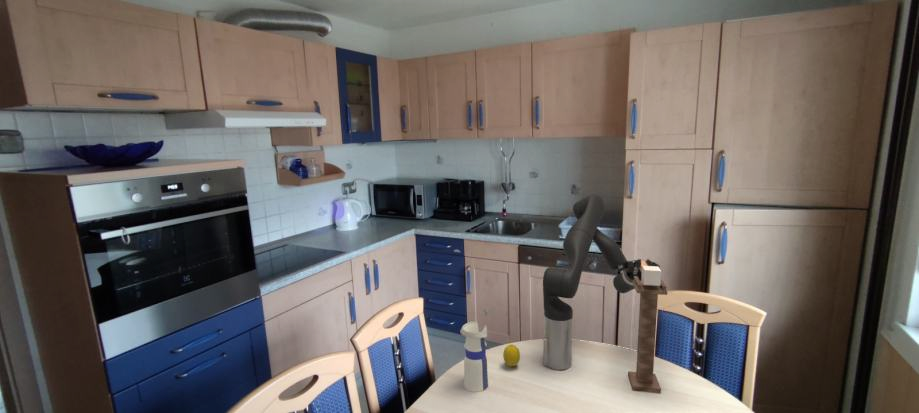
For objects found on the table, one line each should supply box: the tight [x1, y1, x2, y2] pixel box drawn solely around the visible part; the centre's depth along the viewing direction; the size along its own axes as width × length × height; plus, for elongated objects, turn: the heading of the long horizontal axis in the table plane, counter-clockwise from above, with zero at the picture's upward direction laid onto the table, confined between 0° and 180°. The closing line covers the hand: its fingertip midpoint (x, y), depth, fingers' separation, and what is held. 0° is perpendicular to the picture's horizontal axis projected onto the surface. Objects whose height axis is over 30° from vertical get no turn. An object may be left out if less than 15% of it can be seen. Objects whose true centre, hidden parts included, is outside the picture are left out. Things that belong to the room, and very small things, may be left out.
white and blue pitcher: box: [460, 306, 490, 393], centre depth 131 cm, size 8×9×25 cm
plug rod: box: [639, 260, 662, 286], centre depth 129 cm, size 4×16×4 cm, turn 167°
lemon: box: [502, 343, 521, 368], centre depth 142 cm, size 6×6×8 cm
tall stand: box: [627, 276, 668, 394], centre depth 128 cm, size 8×8×33 cm
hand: (644, 262), depth 133 cm, fingers closed on plug rod, 2 cm apart
